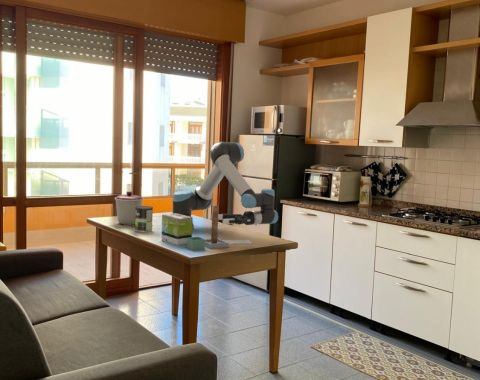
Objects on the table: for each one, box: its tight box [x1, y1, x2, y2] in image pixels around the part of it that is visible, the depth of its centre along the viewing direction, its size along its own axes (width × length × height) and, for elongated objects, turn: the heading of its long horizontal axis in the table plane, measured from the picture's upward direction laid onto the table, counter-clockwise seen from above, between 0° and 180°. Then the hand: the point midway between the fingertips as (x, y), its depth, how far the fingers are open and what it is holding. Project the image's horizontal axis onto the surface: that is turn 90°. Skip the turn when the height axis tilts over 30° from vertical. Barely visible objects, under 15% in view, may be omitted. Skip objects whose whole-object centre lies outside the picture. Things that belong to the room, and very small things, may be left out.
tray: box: [204, 237, 230, 249], centre depth 248 cm, size 12×11×3 cm
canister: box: [114, 190, 145, 226], centre depth 301 cm, size 18×18×21 cm
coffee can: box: [134, 205, 154, 233], centre depth 281 cm, size 10×10×14 cm
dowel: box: [210, 204, 219, 244], centre depth 247 cm, size 3×3×20 cm
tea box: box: [161, 213, 194, 246], centre depth 252 cm, size 15×10×15 cm, turn 45°
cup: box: [185, 236, 206, 251], centre depth 239 cm, size 7×7×6 cm
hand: (217, 219), depth 247 cm, fingers open, 13 cm apart
